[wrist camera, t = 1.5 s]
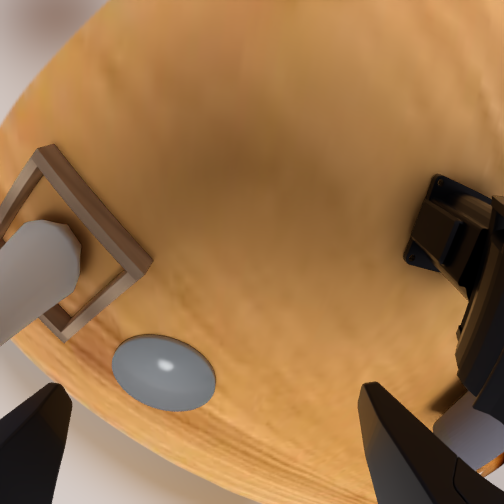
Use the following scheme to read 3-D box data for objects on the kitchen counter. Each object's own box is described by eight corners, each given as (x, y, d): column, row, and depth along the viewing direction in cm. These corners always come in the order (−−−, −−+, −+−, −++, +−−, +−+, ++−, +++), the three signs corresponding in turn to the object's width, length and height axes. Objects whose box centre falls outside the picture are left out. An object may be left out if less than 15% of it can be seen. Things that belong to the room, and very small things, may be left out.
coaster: (224, 349, 24) (223, 354, 23) (207, 414, 27) (206, 419, 27) (112, 322, 23) (109, 327, 22) (116, 392, 26) (114, 397, 26)
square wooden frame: (54, 143, 17) (37, 148, 15) (153, 260, 21) (144, 274, 19) (-7, 237, 20) (-21, 247, 18) (73, 328, 23) (64, 343, 21)
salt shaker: (99, 225, 20) (-26, 352, 8) (88, 292, 22) (0, 425, 10) (33, 199, 19) (-101, 289, 7) (28, 265, 21) (-72, 370, 9)
